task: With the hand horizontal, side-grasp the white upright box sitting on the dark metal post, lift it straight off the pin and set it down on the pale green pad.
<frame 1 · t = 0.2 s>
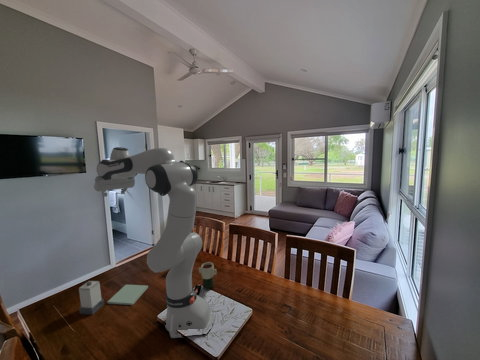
hand: (114, 194, 117), 54 cm above the table, tool tilted 25°, fingers open, 8 cm apart
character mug: (208, 287, 115), on the table
pad: (129, 294, 110), on the table
post: (92, 308, 100), on the table
white upright box: (91, 303, 100), point 3 cm above the table, touching post
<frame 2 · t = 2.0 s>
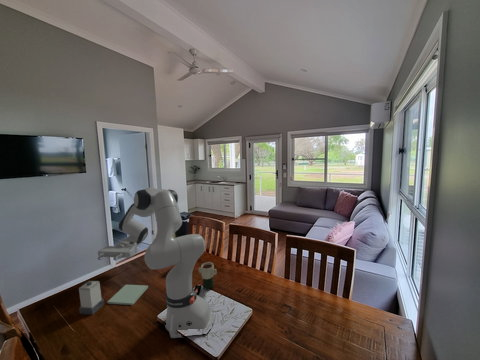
hand: (106, 258, 110), 20 cm above the table, tool horizontal, fingers open, 8 cm apart
nothing on the table moved.
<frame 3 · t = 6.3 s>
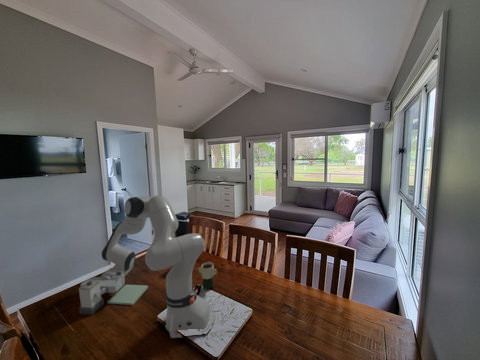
hand: (89, 295, 98), 8 cm above the table, tool horizontal, fingers closed on white upright box, 6 cm apart
white upright box: (91, 303, 100), point 3 cm above the table, touching gripper, post
everything else where it was.
when the fingers open (7 cm above the table, at t = 11.5 s): white upright box drops 1 cm, resting on pad.
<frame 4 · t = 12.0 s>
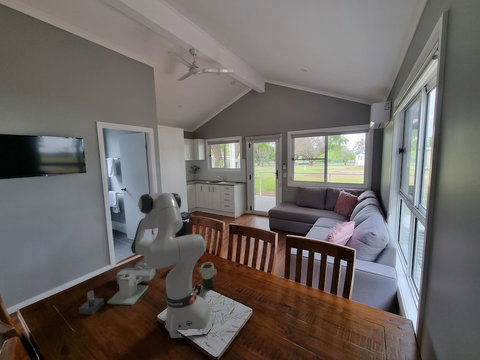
hand: (126, 283, 108), 7 cm above the table, tool horizontal, fingers open, 8 cm apart
white upright box: (129, 293, 109), point 1 cm above the table, touching pad
everything else where it was.
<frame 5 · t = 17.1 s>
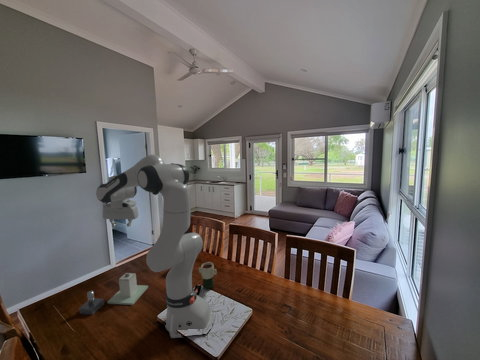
hand: (121, 226, 117), 35 cm above the table, tool pointing down, fingers open, 8 cm apart
nothing on the table moved.
at the end: white upright box inside the target area on the pad (0.1 cm from its centre), point 1.0 cm above the pad's base; white upright box tilted 0°; the gripper is holding nothing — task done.
